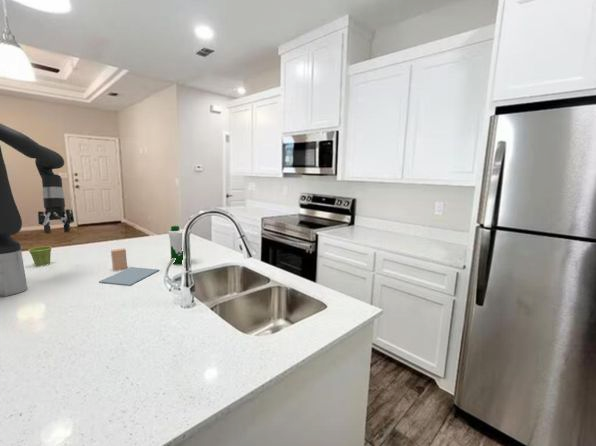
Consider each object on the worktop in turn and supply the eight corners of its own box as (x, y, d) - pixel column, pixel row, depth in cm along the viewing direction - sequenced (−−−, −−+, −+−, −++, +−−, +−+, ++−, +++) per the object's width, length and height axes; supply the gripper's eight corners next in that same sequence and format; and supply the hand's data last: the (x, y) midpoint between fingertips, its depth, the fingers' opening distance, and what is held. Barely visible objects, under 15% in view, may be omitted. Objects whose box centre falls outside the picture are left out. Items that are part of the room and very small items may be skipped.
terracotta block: (112, 268, 151) (110, 249, 149) (126, 266, 155) (124, 248, 153) (113, 270, 149) (111, 251, 147) (127, 268, 152) (125, 249, 150)
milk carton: (178, 259, 168) (175, 224, 164) (192, 260, 166) (190, 225, 162) (168, 264, 159) (165, 227, 156) (183, 265, 158) (181, 228, 154)
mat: (130, 285, 131) (130, 284, 130) (98, 282, 133) (98, 281, 133) (159, 270, 150) (159, 269, 150) (131, 268, 153) (131, 267, 153)
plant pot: (43, 267, 151) (41, 251, 150) (25, 267, 151) (23, 250, 150) (58, 261, 160) (56, 246, 159) (41, 261, 161) (39, 245, 159)
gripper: (30, 198, 132) (34, 234, 132) (63, 196, 132) (67, 232, 133) (45, 199, 139) (48, 233, 140) (75, 196, 139) (79, 231, 140)
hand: (57, 233), depth 136 cm, fingers open, 8 cm apart
